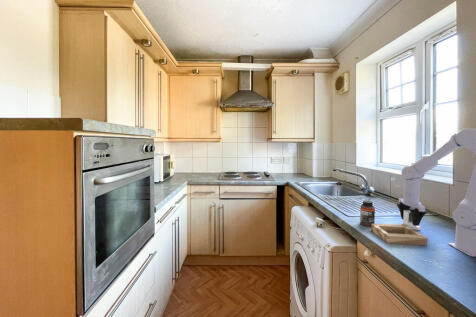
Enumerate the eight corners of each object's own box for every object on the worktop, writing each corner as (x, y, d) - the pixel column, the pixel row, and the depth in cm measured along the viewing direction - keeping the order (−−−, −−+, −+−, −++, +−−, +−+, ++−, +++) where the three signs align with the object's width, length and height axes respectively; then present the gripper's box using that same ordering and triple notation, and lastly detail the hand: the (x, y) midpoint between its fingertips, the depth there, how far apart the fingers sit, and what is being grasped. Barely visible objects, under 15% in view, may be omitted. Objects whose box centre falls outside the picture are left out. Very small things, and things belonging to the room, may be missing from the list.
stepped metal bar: (420, 230, 96) (421, 212, 96) (403, 229, 97) (404, 212, 96) (415, 227, 100) (416, 210, 99) (398, 226, 100) (399, 209, 100)
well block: (427, 245, 82) (427, 237, 82) (387, 243, 84) (388, 235, 83) (404, 231, 95) (405, 224, 95) (370, 230, 96) (371, 223, 96)
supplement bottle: (365, 221, 107) (366, 199, 106) (377, 225, 101) (378, 202, 101) (356, 223, 105) (357, 200, 104) (368, 227, 99) (369, 203, 99)
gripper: (433, 197, 90) (431, 228, 90) (410, 189, 104) (408, 217, 105) (415, 196, 90) (413, 228, 91) (394, 189, 105) (393, 216, 106)
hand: (409, 222), depth 98 cm, fingers open, 7 cm apart
